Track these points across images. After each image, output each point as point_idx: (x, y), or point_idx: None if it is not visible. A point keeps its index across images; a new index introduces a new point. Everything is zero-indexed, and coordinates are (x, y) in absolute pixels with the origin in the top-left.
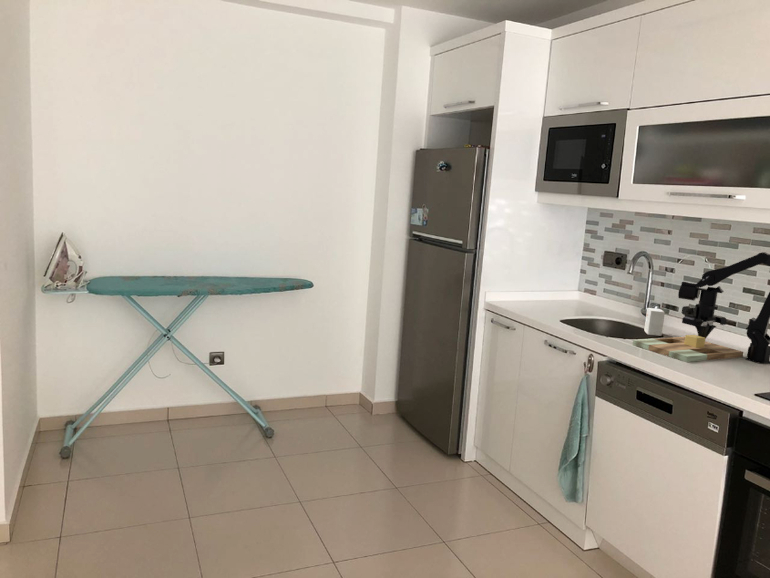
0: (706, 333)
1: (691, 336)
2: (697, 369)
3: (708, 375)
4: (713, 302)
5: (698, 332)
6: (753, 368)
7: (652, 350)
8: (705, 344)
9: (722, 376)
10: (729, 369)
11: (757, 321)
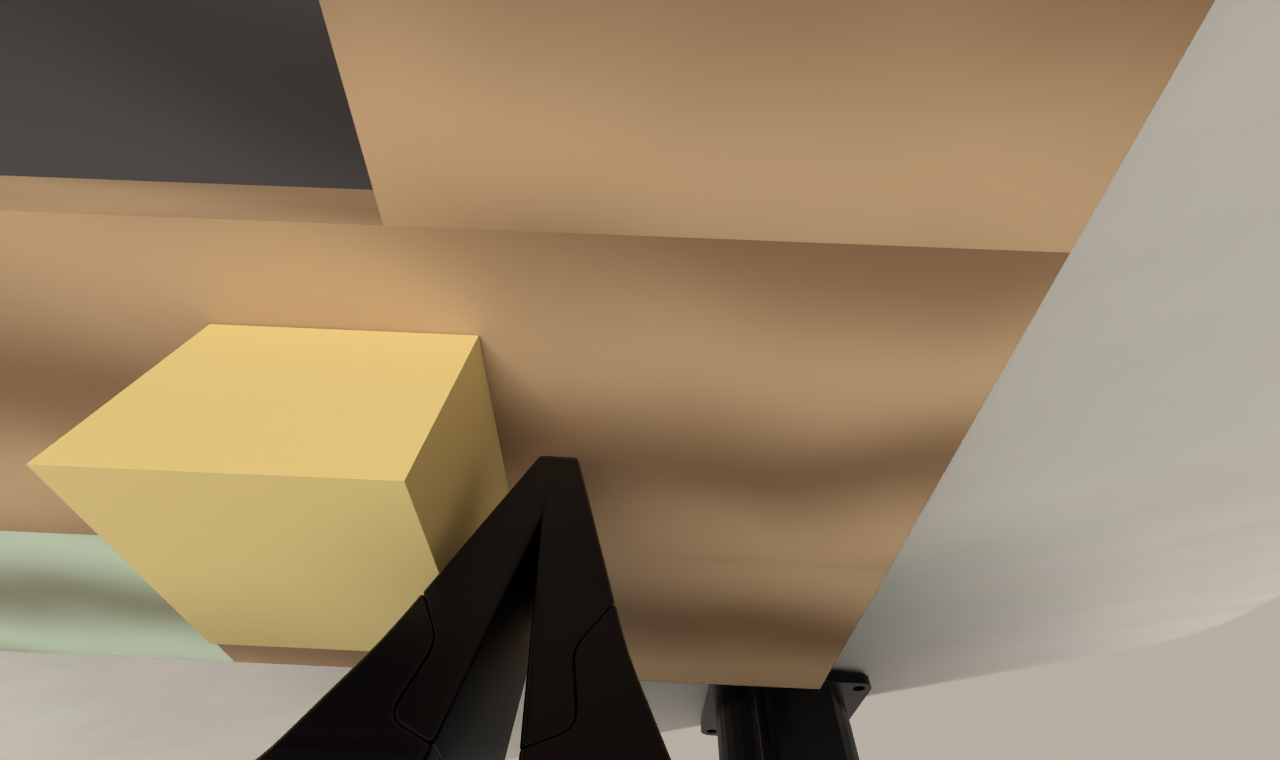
0: (502, 737)
1: (159, 560)
2: (15, 677)
3: (43, 722)
4: None
5: (401, 640)
6: (518, 733)
7: None
8: (696, 440)
9: (138, 739)
10: (298, 713)
11: None
